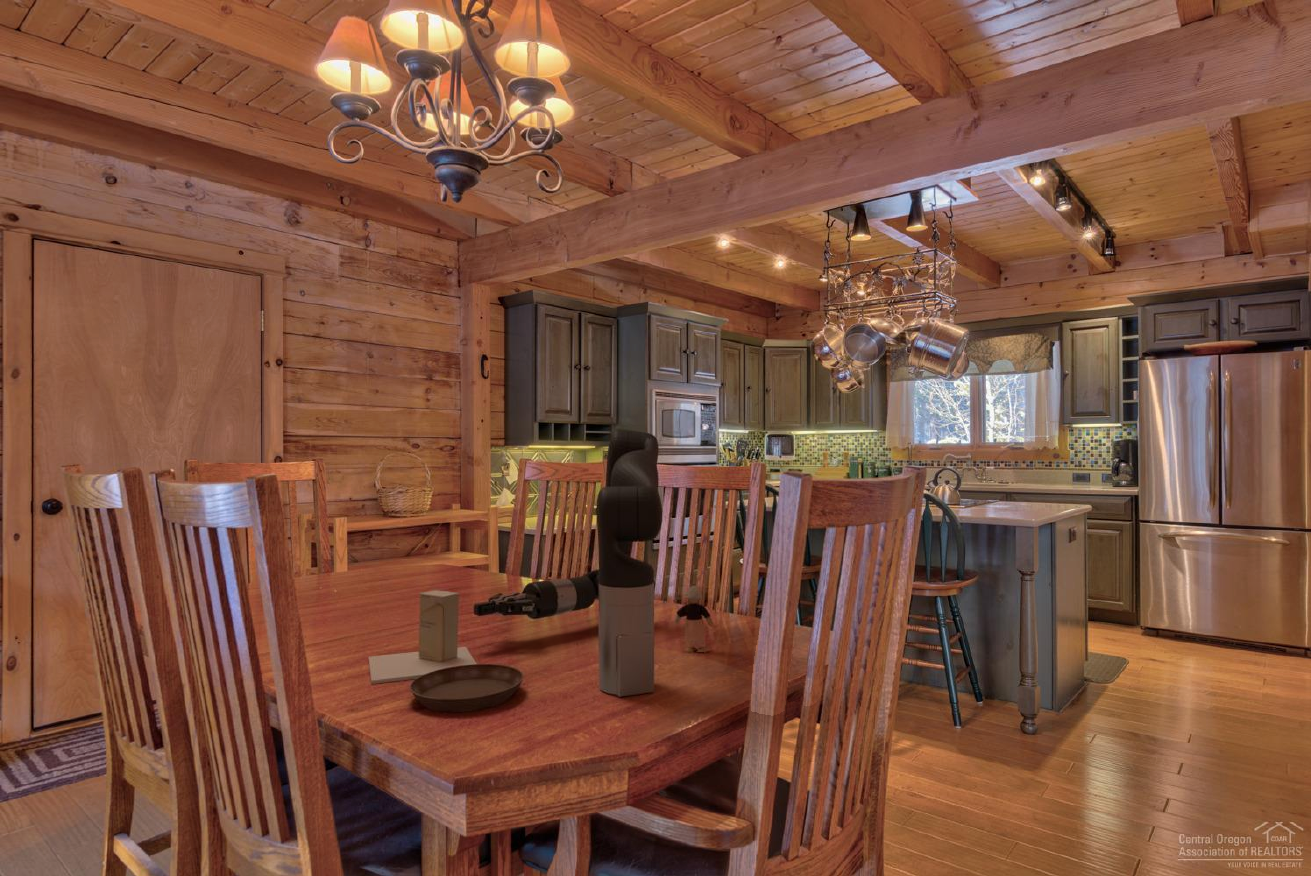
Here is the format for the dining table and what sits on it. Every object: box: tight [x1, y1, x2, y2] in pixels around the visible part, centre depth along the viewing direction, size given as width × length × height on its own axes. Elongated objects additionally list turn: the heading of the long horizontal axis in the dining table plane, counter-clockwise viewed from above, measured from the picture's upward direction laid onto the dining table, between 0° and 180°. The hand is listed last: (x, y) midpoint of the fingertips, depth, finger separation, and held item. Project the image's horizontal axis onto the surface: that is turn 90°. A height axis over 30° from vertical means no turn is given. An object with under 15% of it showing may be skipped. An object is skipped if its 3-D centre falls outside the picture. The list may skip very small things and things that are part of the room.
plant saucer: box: [409, 663, 524, 713], centre depth 120 cm, size 18×18×3 cm
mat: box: [368, 646, 477, 685], centre depth 138 cm, size 16×18×1 cm
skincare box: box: [418, 589, 460, 662], centre depth 141 cm, size 6×4×12 cm
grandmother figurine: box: [674, 585, 714, 653], centre depth 147 cm, size 8×4×13 cm, turn 84°
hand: (475, 610), depth 146 cm, fingers closed
